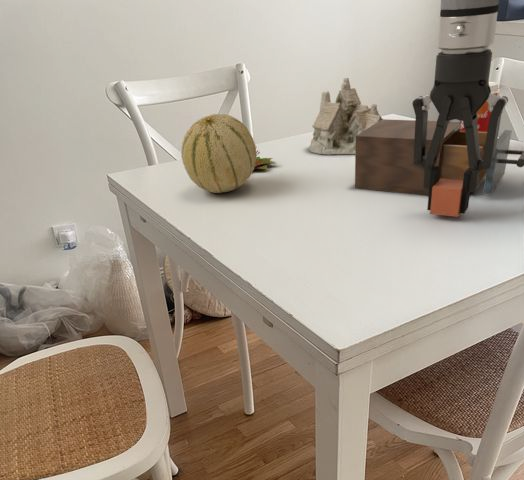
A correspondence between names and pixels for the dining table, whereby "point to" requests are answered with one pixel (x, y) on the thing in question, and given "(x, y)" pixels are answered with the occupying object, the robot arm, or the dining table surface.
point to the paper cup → (484, 111)
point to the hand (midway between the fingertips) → (447, 208)
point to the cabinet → (393, 156)
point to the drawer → (457, 156)
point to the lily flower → (262, 162)
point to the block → (446, 197)
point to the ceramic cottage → (341, 122)
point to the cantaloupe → (218, 153)
